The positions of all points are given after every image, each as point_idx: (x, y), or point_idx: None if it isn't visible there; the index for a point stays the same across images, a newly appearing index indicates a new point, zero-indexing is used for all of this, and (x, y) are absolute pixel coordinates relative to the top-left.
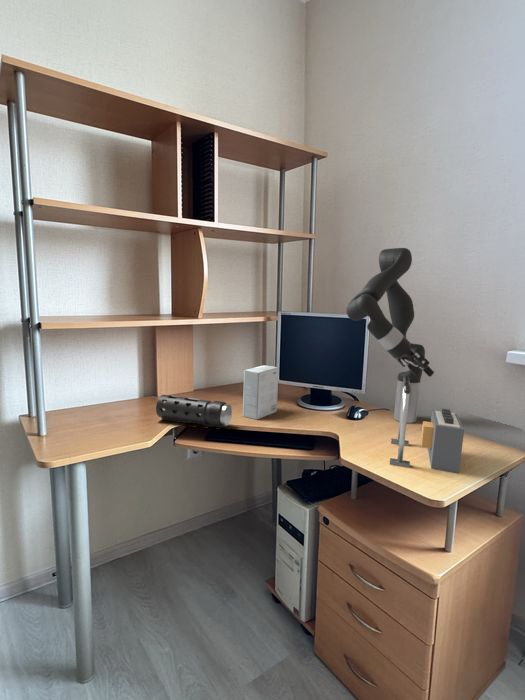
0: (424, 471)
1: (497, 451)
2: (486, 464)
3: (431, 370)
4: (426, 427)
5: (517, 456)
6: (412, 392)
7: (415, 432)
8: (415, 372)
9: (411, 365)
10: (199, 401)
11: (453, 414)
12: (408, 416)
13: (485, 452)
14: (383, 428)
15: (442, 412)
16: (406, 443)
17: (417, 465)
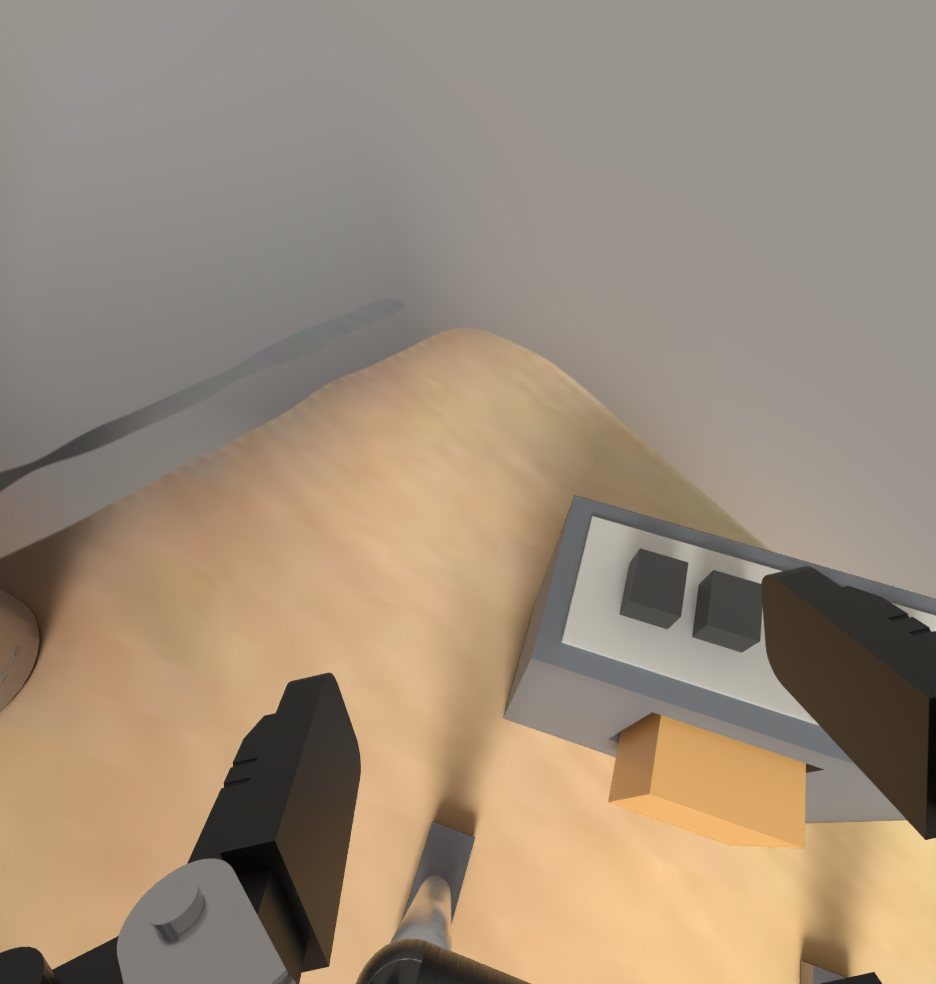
0: (865, 886)
1: (483, 396)
2: (651, 508)
3: (907, 623)
4: (800, 824)
5: (527, 354)
6: None
7: (218, 683)
8: (345, 779)
9: (278, 910)
10: None
11: (630, 535)
12: (3, 655)
13: (503, 447)
14: (107, 918)
15: (674, 622)
16: (470, 853)
17: (788, 899)
